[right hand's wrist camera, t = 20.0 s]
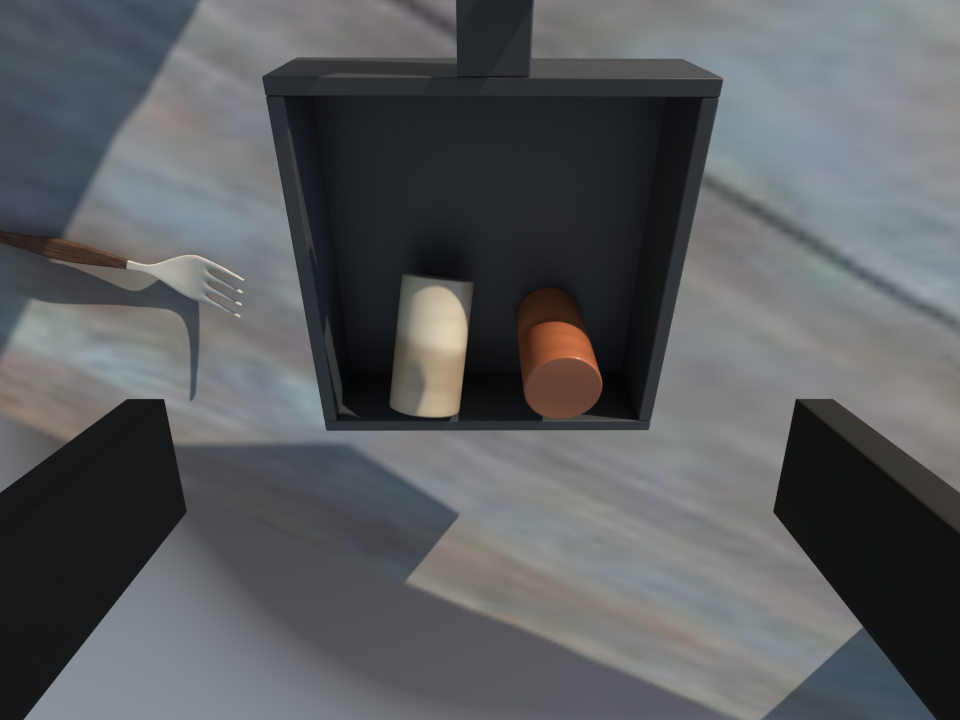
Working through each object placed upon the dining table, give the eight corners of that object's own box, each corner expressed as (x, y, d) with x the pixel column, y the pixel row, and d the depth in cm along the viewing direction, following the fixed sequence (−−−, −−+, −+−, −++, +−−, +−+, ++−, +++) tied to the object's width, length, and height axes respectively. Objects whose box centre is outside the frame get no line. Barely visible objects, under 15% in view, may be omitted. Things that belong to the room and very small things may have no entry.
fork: (-38, 201, 32) (-70, 205, 31) (256, 268, 34) (244, 276, 32) (-35, 247, 33) (-65, 254, 32) (252, 311, 35) (239, 321, 33)
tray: (628, 374, 32) (649, 430, 28) (343, 374, 32) (325, 431, 28) (739, -265, 18) (809, -323, 15) (247, -270, 18) (188, -330, 15)
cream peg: (478, 280, 28) (463, 405, 29) (411, 272, 28) (399, 395, 29) (469, 282, 25) (453, 422, 26) (394, 273, 25) (381, 411, 26)
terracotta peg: (575, 345, 30) (594, 421, 25) (511, 341, 30) (519, 418, 25) (585, 289, 28) (609, 359, 23) (519, 284, 28) (528, 354, 23)
